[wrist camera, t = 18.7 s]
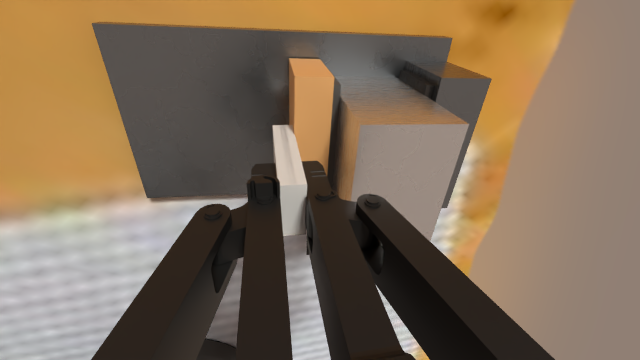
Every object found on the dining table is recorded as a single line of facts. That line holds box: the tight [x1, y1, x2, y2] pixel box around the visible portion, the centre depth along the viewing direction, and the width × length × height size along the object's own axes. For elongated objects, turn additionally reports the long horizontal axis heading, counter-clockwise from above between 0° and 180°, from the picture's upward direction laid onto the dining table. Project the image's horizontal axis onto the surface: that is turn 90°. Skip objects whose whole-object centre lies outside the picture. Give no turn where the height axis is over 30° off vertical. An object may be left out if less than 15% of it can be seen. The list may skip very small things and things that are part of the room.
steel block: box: [332, 76, 469, 241], centre depth 18 cm, size 7×5×9 cm
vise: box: [92, 22, 491, 208], centre depth 20 cm, size 12×22×6 cm, turn 88°
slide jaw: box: [289, 58, 341, 189], centre depth 19 cm, size 9×2×5 cm, turn 178°
